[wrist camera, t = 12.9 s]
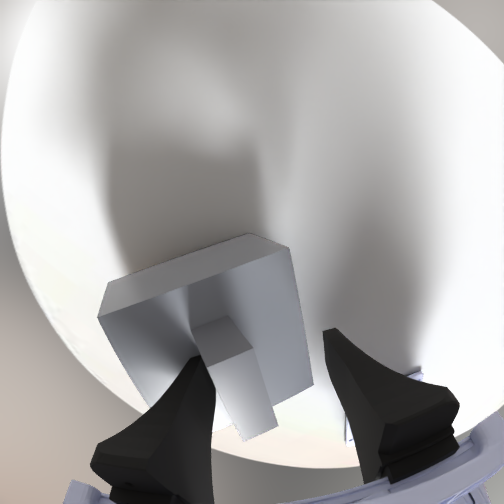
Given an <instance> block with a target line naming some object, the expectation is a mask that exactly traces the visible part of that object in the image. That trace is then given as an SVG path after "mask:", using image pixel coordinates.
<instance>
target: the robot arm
mask: <svg viewBox="0 0 504 504" xmlns="http://www.w3.org/2000/svg"><path fill="white" fill-rule="evenodd" d="M323 340H324V351H325V362H326V365H327V369H328V372H329V376H330V379H331V382H332V384H333V386H334V388H335V391H336V393H337V395H338V398H339V400H340V402H341V404H342V407H343V409H344V411H345V414H346V446H352V445H355V447H356V451H357V455H358V459H359V463H360V467H361V471H362V476H363V481H364V485H361V486H358V487H355V488H351V489H348V490H344V491H340V492H337V493H333V494H328V495H324V496H320V497H315V498H310V499H305V500H299V501H294V502H286V503H280V504H491V501H490V499H489V496H488V494H487V490H486V487H485V485H484V482H485V481H487V480H488V479H489V478H491V477H492V476H493V475H494V474H496V473H497V472H498V471H499V470H500V469H501V468H502V467H503V466H504V419H503V418H502V417H501V415H500V414H499V413H498V411H495V412H494V413H493V414H491V415H490V416H488V417H487V418H486V419H484V420H483V421H481V422H480V423H478V424H477V425H476V426H475V427H474V428H473V430H472V431H471V433H470V436H468V437H466V438H465V439H463V440H461V441H460V442H458V443H457V441H456V439H455V437H454V436H453V434H454V429H453V427H452V423H453V421H454V419H455V417H456V415H457V413H458V410H459V407H460V405H459V402H458V400H457V399H456V397H455V396H454V395H453V393H452V392H451V391H450V390H449V389H448V388H447V387H444V386H438V385H433V384H429V383H425V382H422V379H423V373H422V372H421V371H419V372H417V373H414V374H412V375H409V376H404V375H402V374H399V373H397V372H395V371H393V370H391V369H389V368H387V367H385V366H384V365H382V364H380V363H379V362H377V361H376V360H374V359H373V358H371V357H370V356H368V355H367V354H366V353H364V352H363V351H362V350H360V349H359V348H358V347H357V346H355V345H354V344H353V343H352V342H351V341H349V340H348V339H347V338H346V337H345V336H344V335H343V334H342V333H341V332H340V331H339V330H338V329H336V328H332V329H328V330H324V331H323ZM215 407H216V387H215V385H214V383H213V381H212V379H211V377H210V374H209V372H208V370H207V368H206V366H205V363H204V361H203V359H202V356H201V355H198V356H195V357H191V358H190V359H189V360H188V361H187V363H186V364H185V366H184V367H183V369H182V370H181V372H180V373H179V374H178V376H177V377H176V379H175V380H174V381H173V383H172V384H171V385H170V387H169V388H168V389H167V390H166V391H165V393H164V394H163V395H162V396H161V398H160V399H159V400H158V401H157V402H156V403H155V404H154V405H153V406H152V407H151V408H150V409H149V410H148V411H147V412H146V413H145V414H143V415H142V416H141V417H140V418H139V419H137V420H136V421H135V422H134V423H132V424H131V425H130V426H128V427H127V428H125V429H124V430H122V431H121V432H119V433H118V434H116V435H114V436H112V437H110V438H108V439H106V440H104V441H103V442H100V443H98V445H97V447H96V450H95V452H94V455H93V458H92V460H91V463H90V467H91V468H92V470H93V471H94V472H95V473H96V474H97V475H98V476H99V477H101V478H102V479H103V480H104V481H106V482H107V483H108V484H110V485H111V486H112V489H111V492H110V495H108V494H104V493H101V492H100V491H99V490H98V489H96V488H95V487H93V486H91V485H89V484H86V483H82V482H79V481H76V480H71V482H70V485H69V488H68V491H67V493H66V496H65V499H64V502H63V504H214V497H213V486H212V470H211V438H212V430H213V422H214V415H215Z"/></svg>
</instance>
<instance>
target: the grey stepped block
mask: <svg viewBox="0 0 504 504" xmlns="http://www.w3.org/2000/svg"><path fill="white" fill-rule="evenodd" d="M97 318H98V320H99V322H100V324H101V326H102V328H103V330H104V332H105V334H106V336H107V338H108V340H109V342H110V344H111V345H112V347H113V349H114V351H115V353H116V355H117V356H118V358H119V360H120V362H121V363H122V365H123V367H124V368H125V370H126V372H127V373H128V375H129V377H130V378H131V380H132V382H133V383H134V385H135V386H136V388H137V390H138V391H139V393H140V394H141V396H142V397H143V399H144V400H145V402H146V403H147V405H148V406H149V408H151V407H152V406H153V405H154V404H155V403H156V402H157V401H158V400H159V399H160V398H161V396H162V395H163V394H164V393H165V391H166V390H167V389H168V388H169V387H170V385H171V384H172V383H173V381H174V380H175V379H176V377H177V376H178V374H179V373H180V372H181V370H182V369H183V367H184V366H185V364H186V363H187V361H188V360H189V359H190V358H191V357H195V356H198V355H201V356H202V359H203V361H204V363H205V366H206V368H207V370H208V372H209V374H210V377H211V379H212V381H213V383H214V385H215V387H216V407H215V415H214V422H213V430H212V432H214V431H217V430H220V429H222V428H225V427H227V426H230V425H232V424H234V426H235V428H236V429H237V431H238V433H239V435H240V437H241V439H242V441H243V442H244V441H247V440H249V439H251V438H254V437H256V436H258V435H260V434H262V433H265V432H267V431H269V430H271V429H273V428H275V427H277V426H278V423H277V420H276V417H275V414H274V411H273V408H272V406H274V405H276V404H279V403H281V402H283V401H285V400H286V399H288V398H290V397H292V396H294V395H296V394H298V393H300V392H302V391H304V390H305V389H307V388H309V387H311V386H313V385H314V384H313V377H312V371H311V365H310V358H309V352H308V346H307V340H306V335H305V329H304V323H303V318H302V312H301V306H300V301H299V296H298V290H297V285H296V280H295V275H294V270H293V265H292V260H291V255H290V250H289V247H286V246H284V245H281V244H278V243H275V242H273V241H270V240H267V239H264V238H262V237H259V236H256V235H253V234H251V233H248V234H245V235H242V236H239V237H236V238H233V239H230V240H227V241H224V242H221V243H218V244H215V245H212V246H209V247H207V248H204V249H201V250H198V251H195V252H192V253H189V254H186V255H183V256H181V257H178V258H175V259H172V260H169V261H166V262H163V263H161V264H158V265H155V266H152V267H149V268H147V269H144V270H141V271H138V272H135V273H133V274H130V275H127V276H124V277H122V278H119V279H116V280H113V281H111V282H108V285H107V288H106V291H105V294H104V297H103V300H102V303H101V306H100V310H99V313H98V316H97Z"/></svg>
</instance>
